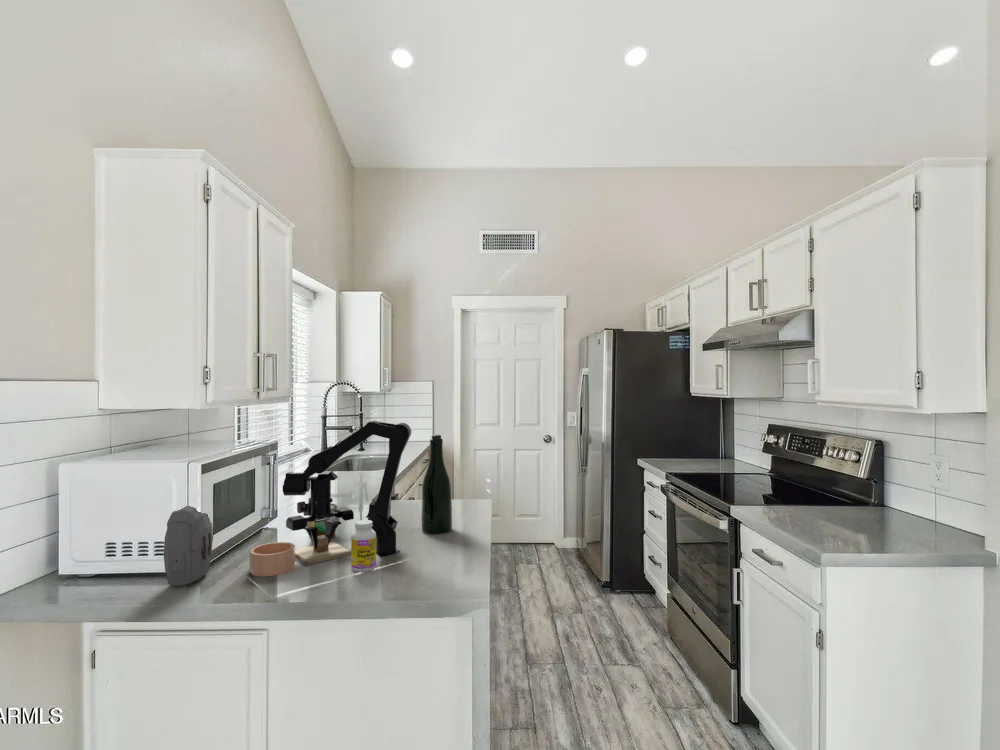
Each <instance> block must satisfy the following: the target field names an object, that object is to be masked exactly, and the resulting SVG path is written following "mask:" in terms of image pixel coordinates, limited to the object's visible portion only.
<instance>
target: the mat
mask: <svg viewBox="0 0 1000 750" xmlns="http://www.w3.org/2000/svg"><path fill="white" fill-rule="evenodd" d="M334 542H335V543H337V544H339V545H341V546H343V547H345V548H346V549H348V550H350V551H351V549H350V548H348V547H346V546H344V545H342V544H340V543H338V542H336V541H334ZM347 557H348V558H349V557H351V554H348V555H344V556H340V557H336V558H332V559H328V560H324V561H319V562H315V563H311V564H307V563H306V562H304V561H302V560H301V559H299V558H298V557H296V556H295V563H298V564H299V565H301V566H302V567H304V568H309V567H311V566H315V565H319V564H324V563H328V562H332V561H335V560H340V559H343V558H347Z"/></svg>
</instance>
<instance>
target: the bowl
mask: <svg viewBox="0 0 1000 750" xmlns="http://www.w3.org/2000/svg"><path fill="white" fill-rule="evenodd" d="M295 549H296V546H295V544H294V543H291V542H286V541H280V542H279V541H277V542H268V543H264V544H260V545H257V546H255V547H254V546H253V547H252V548H251V549H250V551H249V573H250V574H251V575H252V576H257V577H271V576H272V577H273V576H277V575H278V576H279V575H282V574H286V573H288V572H289V571H291V570H293V569H294V568H295V566H296V564H295V563H296V561H295Z"/></svg>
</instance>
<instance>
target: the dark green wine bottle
mask: <svg viewBox="0 0 1000 750" xmlns="http://www.w3.org/2000/svg"><path fill="white" fill-rule="evenodd" d="M443 444H444V441H443V438H442V435H441V434H433V435H431V438H430V440H429V445H430V450H429V461H428V465H427V468H426V471H425V474H424V475H423V479H422V486H421V487H422V488H421V531H422V532H423V533H424V534H428V533H429V535H441V534H442V533H443V534H446V532H447V533H449V532H450V531H452V529H453V503H452V502H453V501H452V499H453V498H452V485H451V483H452V482H451V479H450V475H449V472H448V471H447V468H446V465H445V461H444V451H443V450H444V449H443V447H444V446H443Z"/></svg>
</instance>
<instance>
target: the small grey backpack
mask: <svg viewBox="0 0 1000 750" xmlns="http://www.w3.org/2000/svg"><path fill="white" fill-rule="evenodd" d="M185 506H186V505H185ZM208 514H209V513H208ZM208 514H206V513H201V512H198V511H197V510H196V508H194V507H191V506H186V507H184V508H182V509H180V510H177V511H175V510H173V511H172V512H171V514H170V516H169V519H168V520H167V522H166V531H165V534H164V542H163V543H164V544H163V563H164V571H165V575H166V580H167V584H168V585H169V586H175V587H178V586H185V585H188V584H191V583H194V582H196V581H198V580H200V579H201V578H203V577H204V576H205V575H207V573H208V572H209V570H210V564H211V561H212V560H211V559H212V555H213V553H212V552H213V542H214V541H213V540H214V530H213V529H214V528H213V523H211V522H212V521H211V522H210V519H209V517H208Z"/></svg>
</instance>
